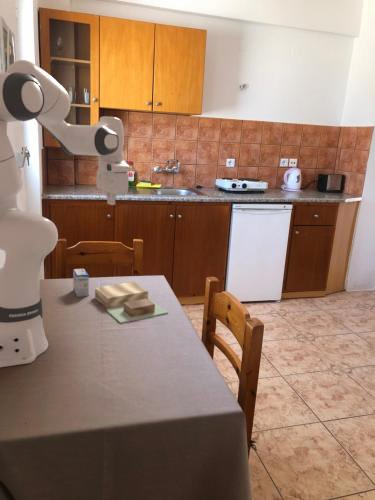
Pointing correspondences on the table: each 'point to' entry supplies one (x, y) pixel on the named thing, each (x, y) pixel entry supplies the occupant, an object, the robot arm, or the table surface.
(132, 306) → the walnut tile
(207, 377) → the table surface
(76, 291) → the medicine box
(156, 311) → the sage green mat
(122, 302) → the beech block
